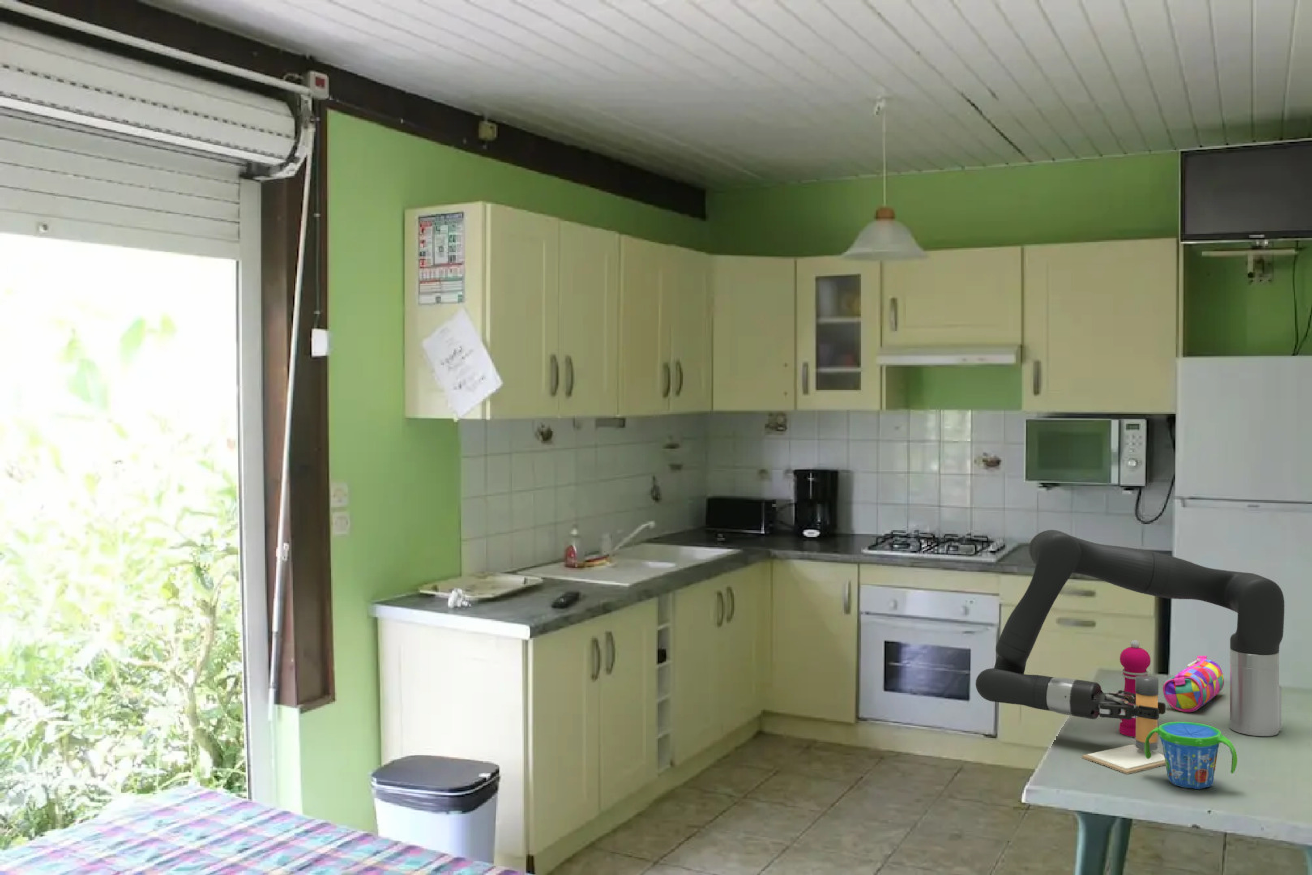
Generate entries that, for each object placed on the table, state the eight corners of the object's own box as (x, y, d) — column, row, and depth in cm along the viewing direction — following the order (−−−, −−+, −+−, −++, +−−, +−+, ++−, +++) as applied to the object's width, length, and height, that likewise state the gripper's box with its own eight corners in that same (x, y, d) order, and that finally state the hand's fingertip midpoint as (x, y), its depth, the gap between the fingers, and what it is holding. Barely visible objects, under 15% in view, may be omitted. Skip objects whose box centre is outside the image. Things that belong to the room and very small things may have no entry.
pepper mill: (1143, 740, 233) (1143, 645, 233) (1110, 732, 239) (1110, 639, 238) (1160, 733, 238) (1160, 640, 237) (1127, 725, 244) (1127, 634, 243)
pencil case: (1182, 689, 272) (1182, 652, 272) (1225, 695, 266) (1225, 657, 266) (1161, 710, 255) (1161, 671, 254) (1206, 717, 249) (1206, 677, 249)
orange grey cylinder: (1145, 742, 226) (1145, 674, 226) (1162, 748, 223) (1163, 678, 222) (1130, 745, 225) (1130, 676, 224) (1147, 751, 221) (1148, 681, 220)
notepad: (1131, 746, 230) (1131, 742, 230) (1177, 762, 220) (1177, 758, 220) (1081, 757, 223) (1081, 753, 223) (1127, 774, 214) (1127, 770, 214)
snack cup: (1135, 780, 210) (1135, 727, 210) (1157, 766, 217) (1157, 715, 217) (1224, 801, 199) (1224, 744, 199) (1244, 785, 206) (1244, 731, 206)
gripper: (1062, 687, 227) (1151, 700, 216) (1085, 672, 238) (1171, 684, 227) (1062, 723, 227) (1151, 739, 216) (1085, 707, 238) (1171, 721, 227)
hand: (1161, 711), depth 222 cm, fingers closed on orange grey cylinder, 4 cm apart
